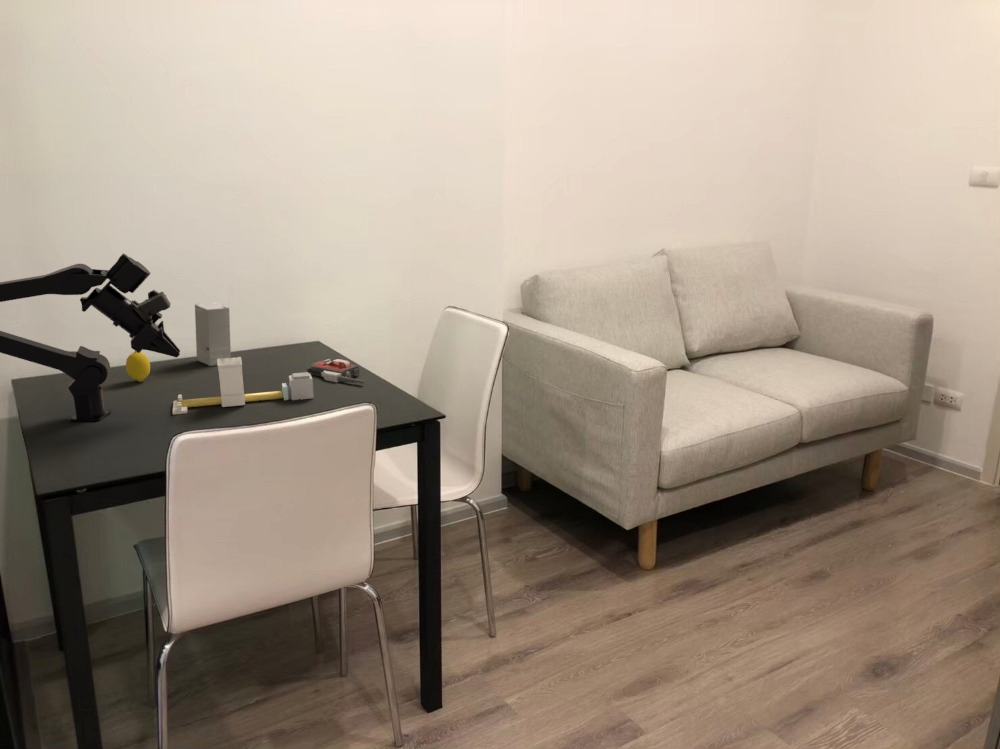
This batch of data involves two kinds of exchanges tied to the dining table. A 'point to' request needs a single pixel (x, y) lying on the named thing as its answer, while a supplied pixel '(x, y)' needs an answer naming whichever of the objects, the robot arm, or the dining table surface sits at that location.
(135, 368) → the lemon
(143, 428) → the dining table surface
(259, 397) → the wooden handled rake
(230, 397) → the white lidded box
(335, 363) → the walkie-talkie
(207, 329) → the skincare box
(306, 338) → the dining table surface
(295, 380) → the grey plastic block
